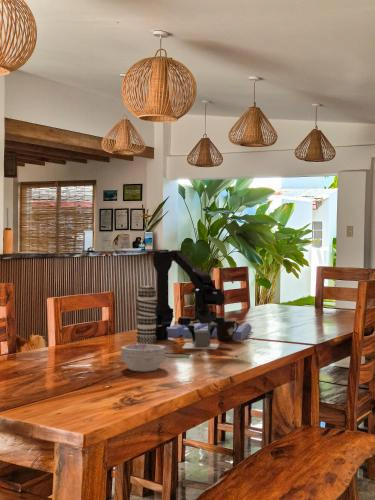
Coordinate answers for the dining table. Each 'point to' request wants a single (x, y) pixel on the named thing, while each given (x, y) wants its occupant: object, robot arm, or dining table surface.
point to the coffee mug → (226, 330)
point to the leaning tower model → (146, 315)
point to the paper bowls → (143, 357)
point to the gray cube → (201, 338)
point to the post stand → (190, 345)
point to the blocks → (181, 329)
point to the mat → (177, 355)
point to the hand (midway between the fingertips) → (201, 341)
